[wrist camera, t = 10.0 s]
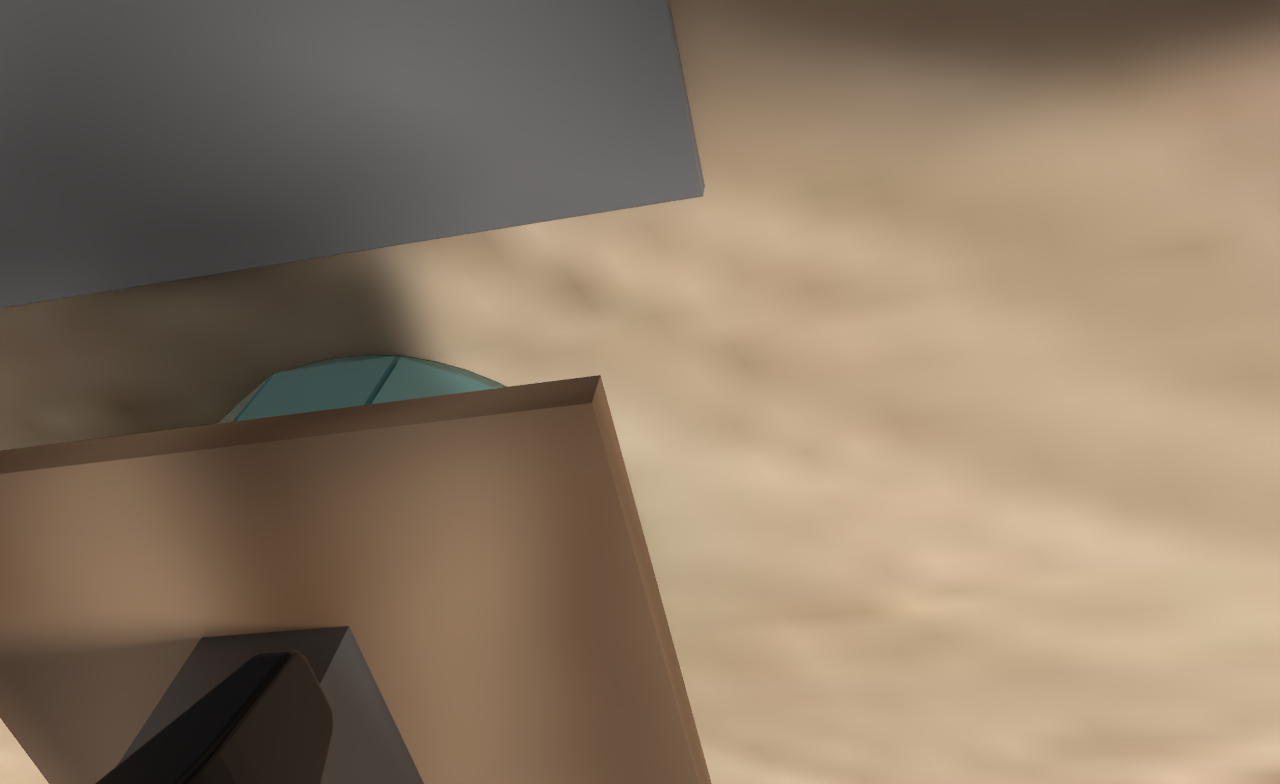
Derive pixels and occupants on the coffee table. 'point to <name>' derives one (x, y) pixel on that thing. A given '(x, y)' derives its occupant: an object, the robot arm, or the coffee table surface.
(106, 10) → the mat
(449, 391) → the teal bowl
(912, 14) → the coffee table surface
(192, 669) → the lid
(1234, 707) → the coffee table surface
